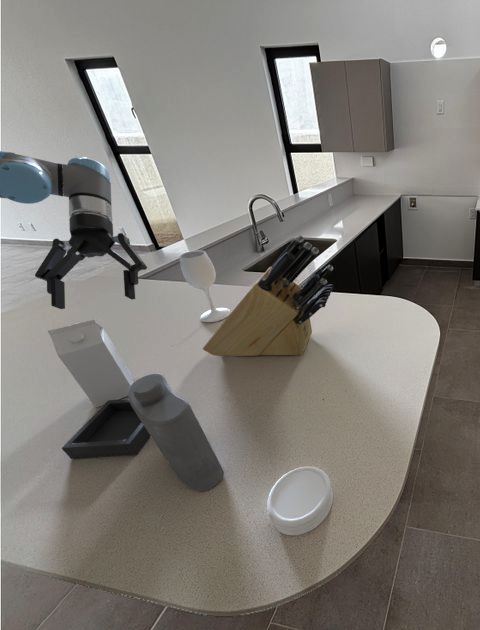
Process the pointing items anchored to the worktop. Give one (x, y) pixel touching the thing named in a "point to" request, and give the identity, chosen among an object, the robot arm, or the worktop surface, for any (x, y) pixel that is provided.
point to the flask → (175, 432)
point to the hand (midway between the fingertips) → (95, 302)
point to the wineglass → (202, 280)
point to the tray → (109, 433)
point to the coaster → (300, 500)
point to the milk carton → (92, 361)
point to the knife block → (275, 309)
